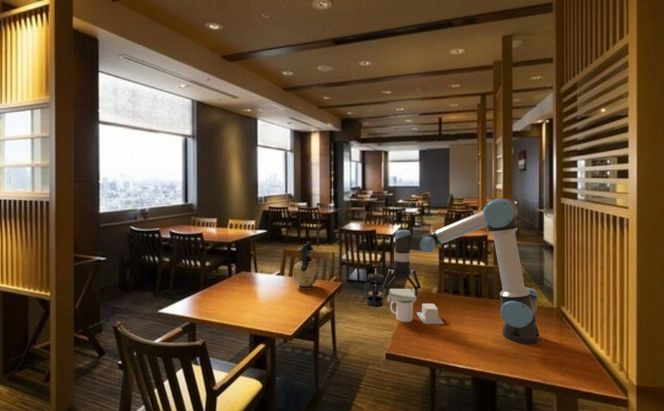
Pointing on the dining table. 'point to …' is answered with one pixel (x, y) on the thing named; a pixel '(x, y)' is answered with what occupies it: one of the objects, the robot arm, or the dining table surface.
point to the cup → (403, 310)
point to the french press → (374, 290)
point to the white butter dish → (429, 314)
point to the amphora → (306, 268)
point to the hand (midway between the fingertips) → (401, 301)
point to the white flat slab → (402, 295)
